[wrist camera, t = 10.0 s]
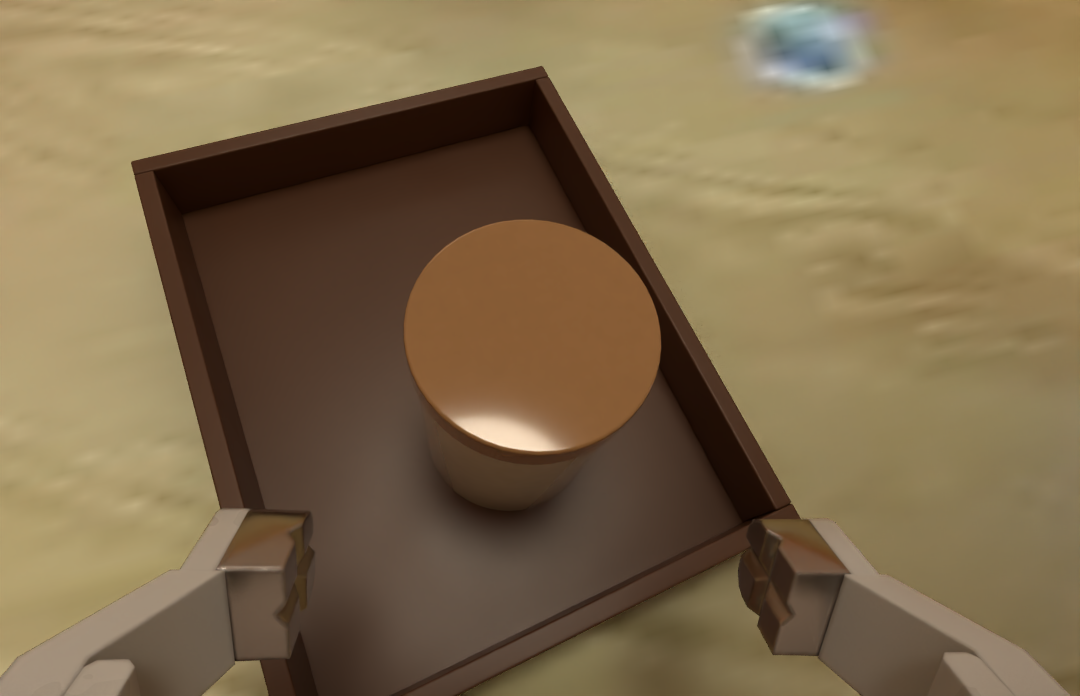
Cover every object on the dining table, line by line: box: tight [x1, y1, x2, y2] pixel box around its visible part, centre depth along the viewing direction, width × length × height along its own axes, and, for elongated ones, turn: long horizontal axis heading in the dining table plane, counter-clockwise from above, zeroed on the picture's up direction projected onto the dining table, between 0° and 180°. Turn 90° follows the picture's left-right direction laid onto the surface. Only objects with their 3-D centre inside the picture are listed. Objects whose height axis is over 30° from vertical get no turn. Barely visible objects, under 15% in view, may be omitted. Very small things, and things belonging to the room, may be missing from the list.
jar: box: [403, 219, 661, 511], centre depth 18 cm, size 6×6×8 cm
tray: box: [131, 66, 801, 696], centre depth 21 cm, size 19×15×3 cm
